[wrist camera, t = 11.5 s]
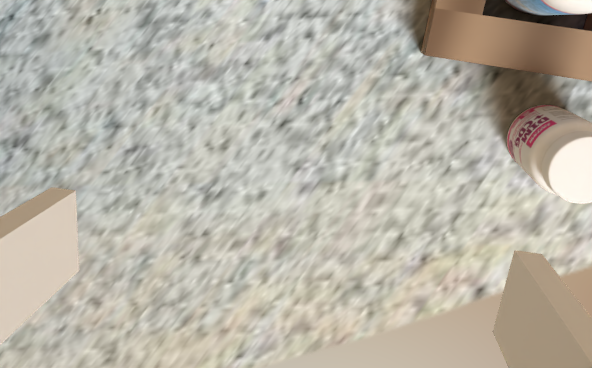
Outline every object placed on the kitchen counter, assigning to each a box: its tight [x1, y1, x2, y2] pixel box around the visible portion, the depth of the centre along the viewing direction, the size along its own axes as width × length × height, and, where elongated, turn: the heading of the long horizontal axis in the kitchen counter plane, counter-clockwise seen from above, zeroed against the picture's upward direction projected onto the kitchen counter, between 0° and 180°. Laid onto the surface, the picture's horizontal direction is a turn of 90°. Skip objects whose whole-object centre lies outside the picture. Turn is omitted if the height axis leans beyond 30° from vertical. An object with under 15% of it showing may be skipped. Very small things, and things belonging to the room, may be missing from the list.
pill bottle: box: [507, 105, 592, 204], centre depth 32 cm, size 5×5×8 cm
